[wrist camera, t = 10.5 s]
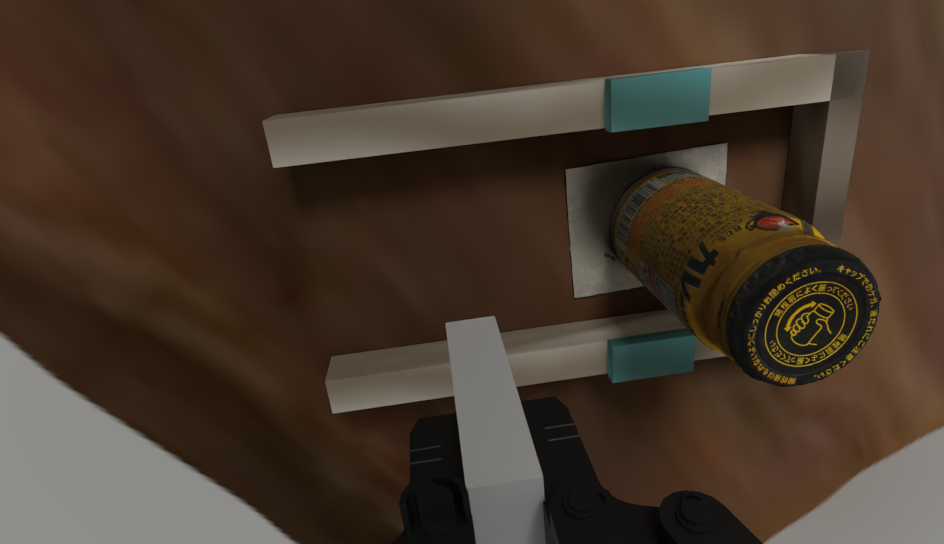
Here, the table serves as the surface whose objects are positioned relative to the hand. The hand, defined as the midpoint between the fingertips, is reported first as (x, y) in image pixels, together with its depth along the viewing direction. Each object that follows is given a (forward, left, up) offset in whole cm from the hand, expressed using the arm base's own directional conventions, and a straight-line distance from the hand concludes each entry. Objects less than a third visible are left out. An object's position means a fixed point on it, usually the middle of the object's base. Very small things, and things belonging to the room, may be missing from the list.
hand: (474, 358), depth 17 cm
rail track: (+1, +6, -13) cm, 14 cm away
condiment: (+1, +11, -13) cm, 17 cm away
